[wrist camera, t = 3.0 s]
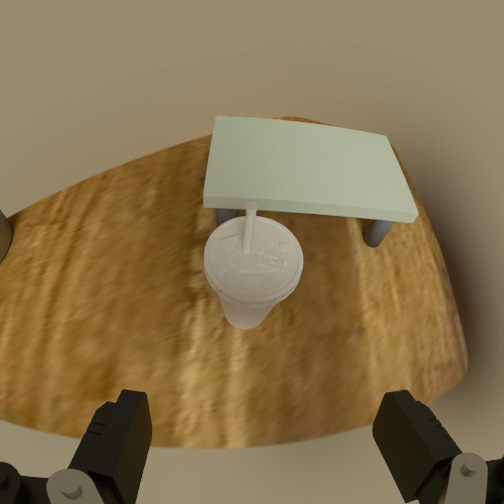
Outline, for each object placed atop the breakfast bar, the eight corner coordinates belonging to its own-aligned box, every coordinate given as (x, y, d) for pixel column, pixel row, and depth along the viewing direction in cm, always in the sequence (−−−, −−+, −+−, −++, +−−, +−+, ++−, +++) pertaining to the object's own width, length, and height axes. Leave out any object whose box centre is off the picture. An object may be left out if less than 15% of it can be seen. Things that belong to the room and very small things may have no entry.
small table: (206, 242, 31) (202, 195, 25) (215, 161, 37) (215, 115, 31) (389, 252, 32) (418, 213, 26) (367, 175, 39) (385, 136, 33)
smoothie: (227, 268, 30) (231, 154, 18) (289, 294, 29) (335, 191, 17) (196, 326, 26) (174, 234, 15) (264, 356, 26) (302, 286, 14)
